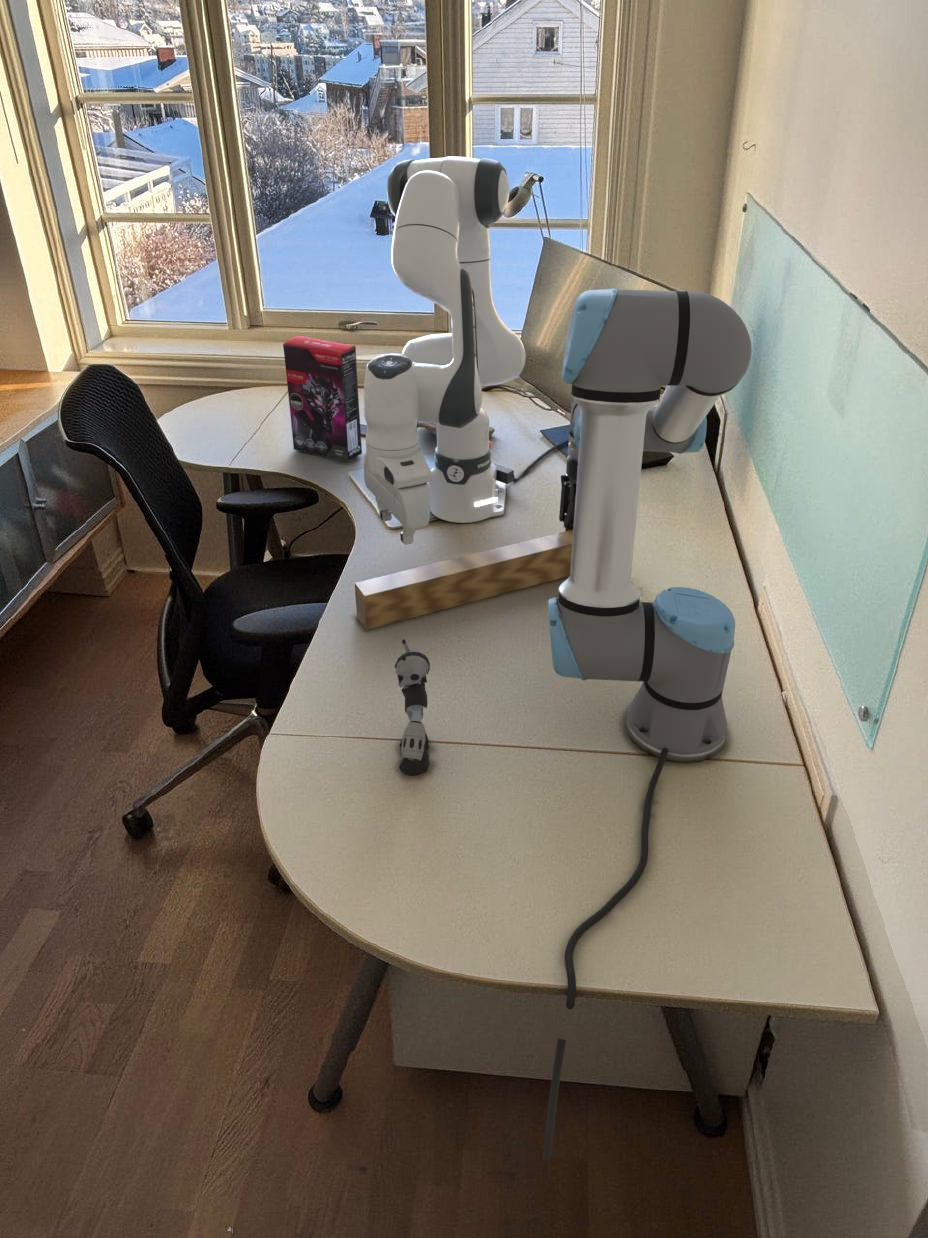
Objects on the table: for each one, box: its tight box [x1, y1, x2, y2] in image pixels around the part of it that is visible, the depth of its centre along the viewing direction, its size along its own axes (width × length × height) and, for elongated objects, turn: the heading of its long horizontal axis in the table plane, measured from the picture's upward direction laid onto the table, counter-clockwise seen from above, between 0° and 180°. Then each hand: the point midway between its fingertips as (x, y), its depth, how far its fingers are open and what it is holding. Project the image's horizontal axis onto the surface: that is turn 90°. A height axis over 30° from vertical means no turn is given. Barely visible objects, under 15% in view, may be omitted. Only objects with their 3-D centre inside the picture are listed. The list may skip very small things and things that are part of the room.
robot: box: [394, 638, 431, 776], centre depth 132 cm, size 20×5×20 cm, turn 3°
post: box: [354, 530, 573, 631], centre depth 175 cm, size 54×5×7 cm, turn 117°
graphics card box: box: [282, 335, 363, 463], centre depth 222 cm, size 17×7×27 cm, turn 62°
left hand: (396, 530), depth 160 cm, fingers open, 8 cm apart
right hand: (577, 563), depth 184 cm, fingers closed on post, 5 cm apart
